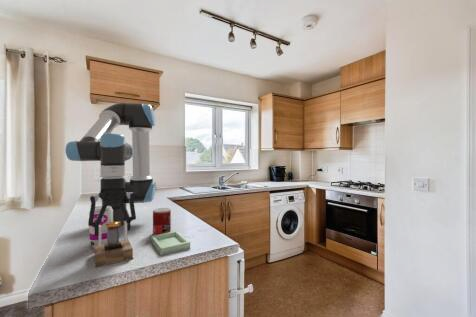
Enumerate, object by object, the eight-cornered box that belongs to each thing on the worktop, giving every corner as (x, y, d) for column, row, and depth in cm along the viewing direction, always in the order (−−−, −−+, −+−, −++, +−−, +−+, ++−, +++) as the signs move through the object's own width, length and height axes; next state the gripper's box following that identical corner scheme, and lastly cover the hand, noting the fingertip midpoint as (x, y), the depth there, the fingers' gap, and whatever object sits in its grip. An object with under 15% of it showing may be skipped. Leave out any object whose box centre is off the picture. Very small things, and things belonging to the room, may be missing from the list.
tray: (151, 241, 93) (151, 235, 93) (176, 236, 99) (176, 231, 99) (161, 254, 79) (161, 248, 79) (190, 248, 86) (190, 242, 86)
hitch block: (94, 255, 80) (94, 245, 80) (128, 248, 86) (128, 239, 86) (94, 267, 70) (94, 256, 70) (132, 258, 77) (132, 248, 77)
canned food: (165, 236, 98) (165, 211, 99) (149, 235, 100) (149, 211, 100) (173, 231, 106) (173, 208, 106) (158, 230, 108) (158, 207, 108)
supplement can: (108, 247, 86) (108, 209, 86) (85, 249, 85) (85, 210, 85) (116, 240, 94) (116, 205, 95) (95, 241, 93) (95, 205, 93)
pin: (105, 256, 79) (105, 222, 79) (119, 253, 81) (119, 220, 81) (105, 261, 75) (105, 225, 75) (121, 257, 77) (121, 223, 78)
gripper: (77, 180, 70) (77, 252, 69) (145, 176, 81) (145, 239, 81) (78, 178, 76) (78, 245, 76) (141, 175, 87) (141, 234, 87)
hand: (113, 242), depth 78 cm, fingers open, 7 cm apart
